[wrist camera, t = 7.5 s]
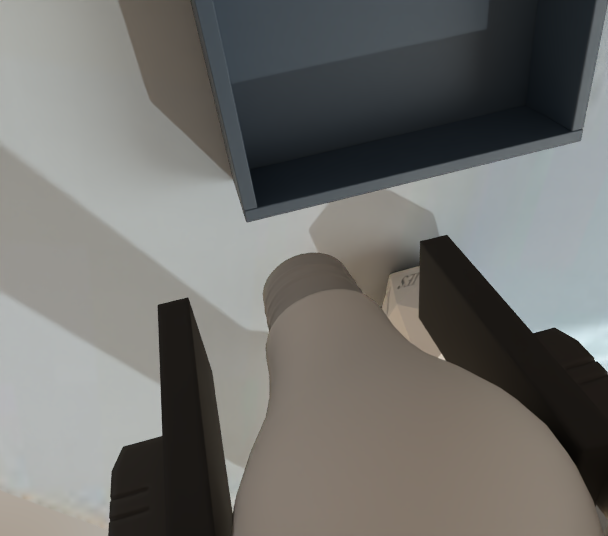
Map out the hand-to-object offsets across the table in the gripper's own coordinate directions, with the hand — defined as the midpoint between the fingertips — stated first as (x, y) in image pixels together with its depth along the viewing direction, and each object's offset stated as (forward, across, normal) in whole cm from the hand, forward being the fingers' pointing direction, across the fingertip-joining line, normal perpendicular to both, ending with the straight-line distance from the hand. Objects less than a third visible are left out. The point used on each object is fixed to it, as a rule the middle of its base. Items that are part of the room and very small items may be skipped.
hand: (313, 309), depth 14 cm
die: (+21, -12, +19) cm, 31 cm away
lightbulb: (+2, 0, 0) cm, 2 cm away
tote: (+21, -10, -1) cm, 23 cm away
